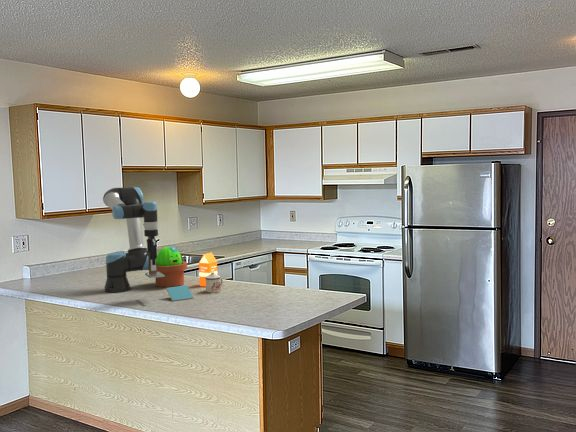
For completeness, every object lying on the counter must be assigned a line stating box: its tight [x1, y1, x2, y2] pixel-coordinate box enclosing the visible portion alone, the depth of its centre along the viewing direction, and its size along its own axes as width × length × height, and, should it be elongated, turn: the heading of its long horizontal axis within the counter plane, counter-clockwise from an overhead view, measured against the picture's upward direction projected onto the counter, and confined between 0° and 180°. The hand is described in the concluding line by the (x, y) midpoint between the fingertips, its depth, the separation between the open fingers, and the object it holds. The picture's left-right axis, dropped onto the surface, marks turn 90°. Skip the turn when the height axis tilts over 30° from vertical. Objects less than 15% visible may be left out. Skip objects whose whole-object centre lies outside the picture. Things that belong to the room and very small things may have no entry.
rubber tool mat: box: [134, 299, 147, 307], centre depth 302 cm, size 16×12×1 cm
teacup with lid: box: [205, 272, 224, 294], centre depth 326 cm, size 12×9×12 cm
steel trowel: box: [144, 252, 165, 279], centre depth 309 cm, size 12×8×13 cm, turn 28°
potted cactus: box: [155, 246, 188, 288], centre depth 349 cm, size 22×22×25 cm
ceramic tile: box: [165, 284, 194, 302], centre depth 309 cm, size 12×12×1 cm
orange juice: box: [198, 252, 218, 287], centre depth 345 cm, size 8×9×20 cm
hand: (152, 269), depth 312 cm, fingers closed on steel trowel, 3 cm apart
